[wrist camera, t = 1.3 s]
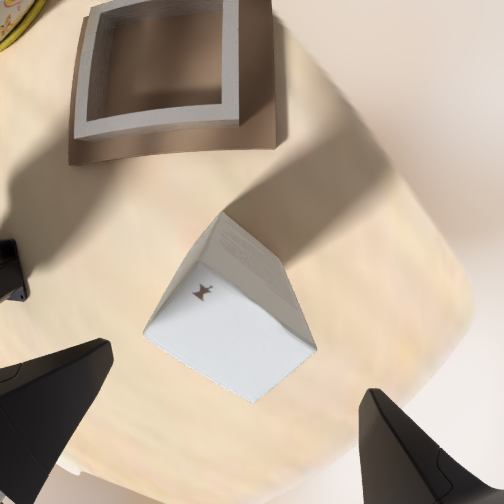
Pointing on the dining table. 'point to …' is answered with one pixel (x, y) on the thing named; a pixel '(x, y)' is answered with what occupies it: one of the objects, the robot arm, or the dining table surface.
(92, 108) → the light gray square frame
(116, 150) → the square wooden tray
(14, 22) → the flowerpot
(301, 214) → the dining table surface
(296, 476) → the dining table surface
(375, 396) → the robot arm
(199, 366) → the skincare box
